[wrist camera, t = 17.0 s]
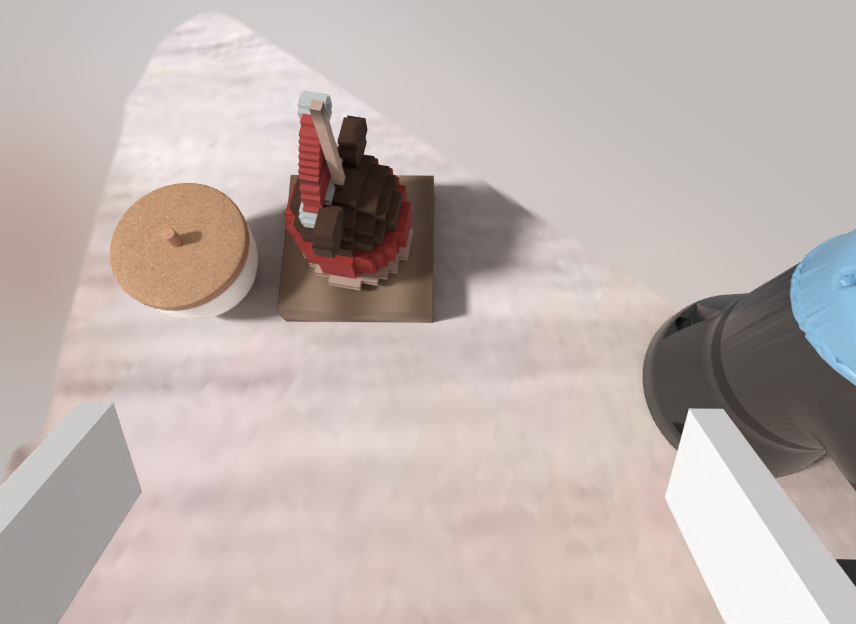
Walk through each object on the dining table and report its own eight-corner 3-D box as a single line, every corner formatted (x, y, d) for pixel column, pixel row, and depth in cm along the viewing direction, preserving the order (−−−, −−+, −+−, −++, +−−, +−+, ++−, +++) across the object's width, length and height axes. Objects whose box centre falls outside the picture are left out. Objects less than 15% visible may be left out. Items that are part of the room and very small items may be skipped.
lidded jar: (132, 280, 51) (67, 236, 42) (221, 203, 53) (178, 146, 44) (207, 358, 48) (155, 329, 39) (297, 275, 51) (268, 229, 42)
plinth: (433, 192, 53) (433, 175, 50) (432, 322, 49) (432, 312, 46) (298, 191, 53) (290, 175, 50) (286, 321, 49) (277, 311, 46)
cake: (398, 307, 46) (377, 201, 29) (290, 288, 47) (208, 174, 30) (422, 196, 50) (415, 41, 32) (321, 179, 50) (262, 19, 33)
